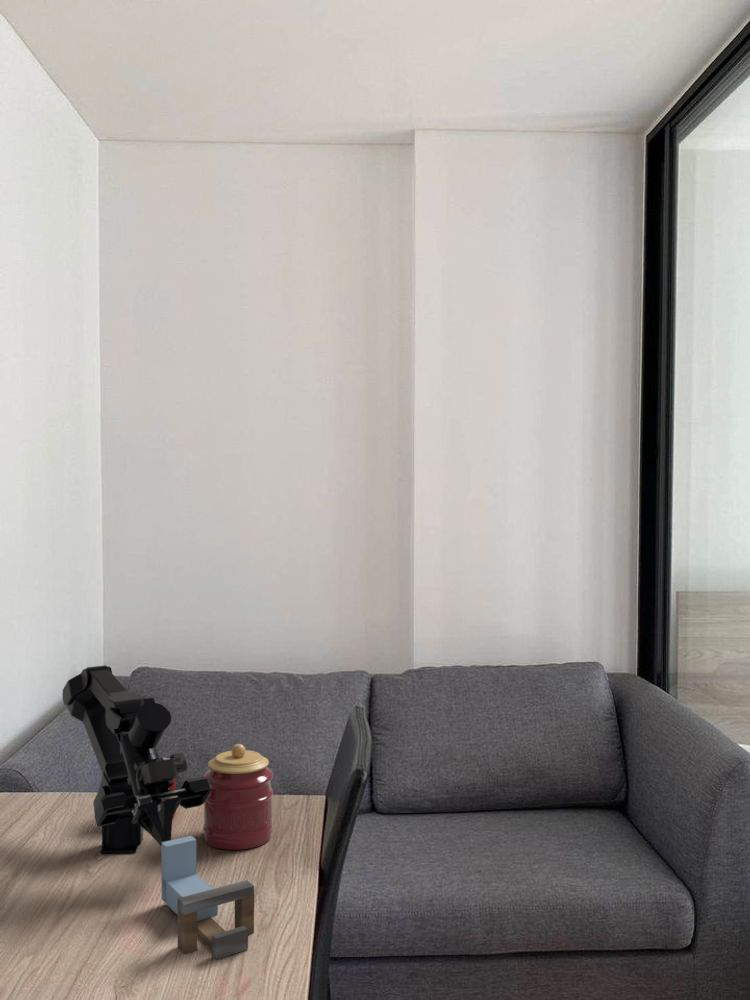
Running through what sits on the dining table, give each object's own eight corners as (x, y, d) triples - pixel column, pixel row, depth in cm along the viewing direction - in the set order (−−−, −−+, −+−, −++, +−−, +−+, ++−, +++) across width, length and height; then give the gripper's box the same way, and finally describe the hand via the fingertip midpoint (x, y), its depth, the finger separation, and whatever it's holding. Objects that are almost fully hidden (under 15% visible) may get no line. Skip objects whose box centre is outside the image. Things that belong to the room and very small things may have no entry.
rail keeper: (147, 914, 143) (147, 869, 143) (213, 896, 149) (213, 853, 149) (195, 966, 128) (195, 915, 128) (266, 943, 134) (266, 896, 134)
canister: (285, 841, 172) (285, 747, 172) (221, 857, 165) (221, 758, 164) (253, 820, 183) (253, 731, 182) (192, 834, 175) (192, 741, 175)
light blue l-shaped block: (161, 898, 146) (161, 842, 146) (191, 891, 149) (191, 835, 149) (186, 924, 138) (186, 864, 138) (217, 915, 141) (217, 856, 141)
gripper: (100, 747, 149) (123, 837, 140) (207, 729, 160) (235, 812, 151) (85, 782, 156) (106, 870, 147) (189, 763, 166) (215, 844, 158)
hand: (167, 848), depth 150 cm, fingers closed
